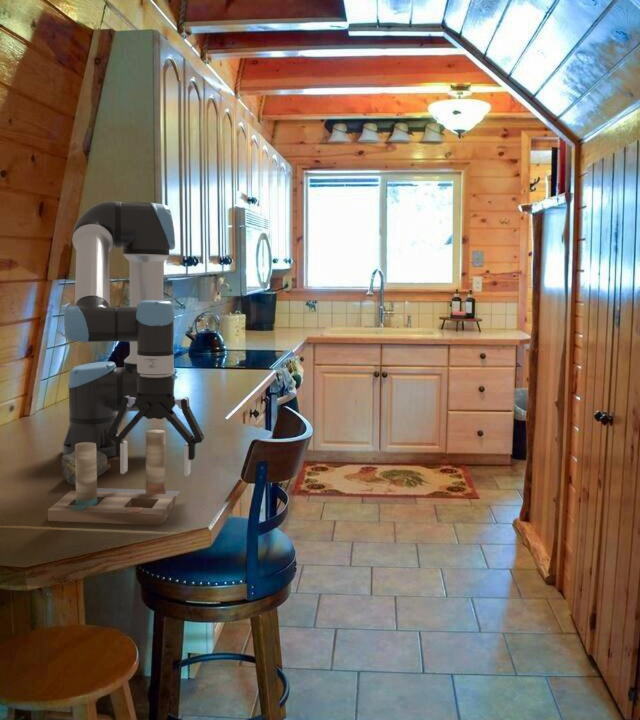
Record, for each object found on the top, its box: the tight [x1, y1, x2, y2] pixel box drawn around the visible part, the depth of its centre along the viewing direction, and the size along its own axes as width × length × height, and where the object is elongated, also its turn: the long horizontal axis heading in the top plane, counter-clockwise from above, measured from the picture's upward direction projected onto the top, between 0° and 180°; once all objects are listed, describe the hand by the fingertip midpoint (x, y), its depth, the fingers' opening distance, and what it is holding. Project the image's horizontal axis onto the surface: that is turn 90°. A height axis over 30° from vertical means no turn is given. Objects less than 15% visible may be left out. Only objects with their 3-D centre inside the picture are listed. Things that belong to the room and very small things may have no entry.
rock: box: [61, 451, 111, 486], centre depth 171 cm, size 17×7×10 cm
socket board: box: [47, 490, 177, 526], centre depth 148 cm, size 12×22×3 cm, turn 88°
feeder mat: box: [97, 487, 182, 498], centre depth 159 cm, size 8×20×1 cm, turn 88°
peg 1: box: [75, 442, 98, 506], centre depth 147 cm, size 4×4×14 cm
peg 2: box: [145, 429, 166, 494], centre depth 158 cm, size 4×4×14 cm
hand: (155, 473), depth 158 cm, fingers open, 13 cm apart
